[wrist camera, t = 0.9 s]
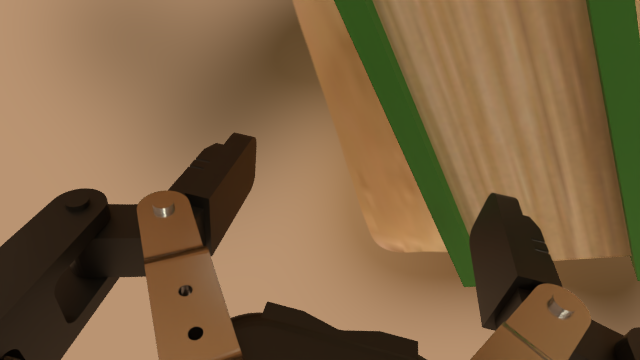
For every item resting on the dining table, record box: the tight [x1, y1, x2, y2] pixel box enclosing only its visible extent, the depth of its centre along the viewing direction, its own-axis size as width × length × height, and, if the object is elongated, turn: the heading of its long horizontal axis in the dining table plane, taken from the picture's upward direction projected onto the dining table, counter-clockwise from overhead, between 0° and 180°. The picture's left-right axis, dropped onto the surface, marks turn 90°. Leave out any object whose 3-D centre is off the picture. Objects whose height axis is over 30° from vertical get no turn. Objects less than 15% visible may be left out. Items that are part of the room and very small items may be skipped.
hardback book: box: [334, 0, 640, 287], centre depth 21 cm, size 18×7×24 cm, turn 29°
